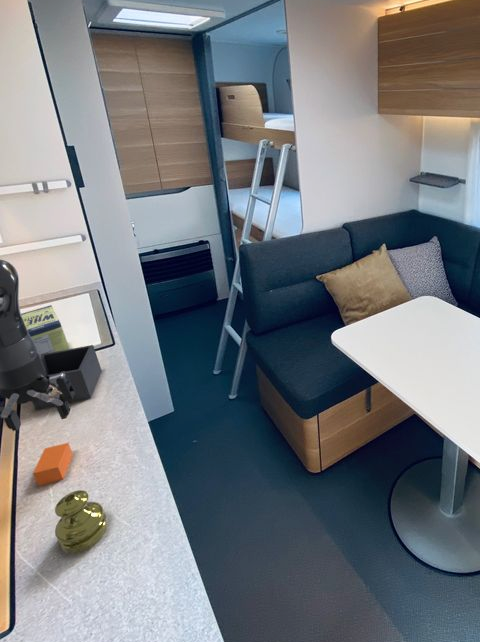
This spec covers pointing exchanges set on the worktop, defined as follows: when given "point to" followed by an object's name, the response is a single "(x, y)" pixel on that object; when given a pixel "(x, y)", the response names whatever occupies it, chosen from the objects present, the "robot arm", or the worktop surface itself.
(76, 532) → the olive gold metallic knob
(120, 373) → the worktop surface
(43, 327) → the protein box
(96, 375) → the trash bin
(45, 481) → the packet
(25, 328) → the robot arm
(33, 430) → the worktop surface
